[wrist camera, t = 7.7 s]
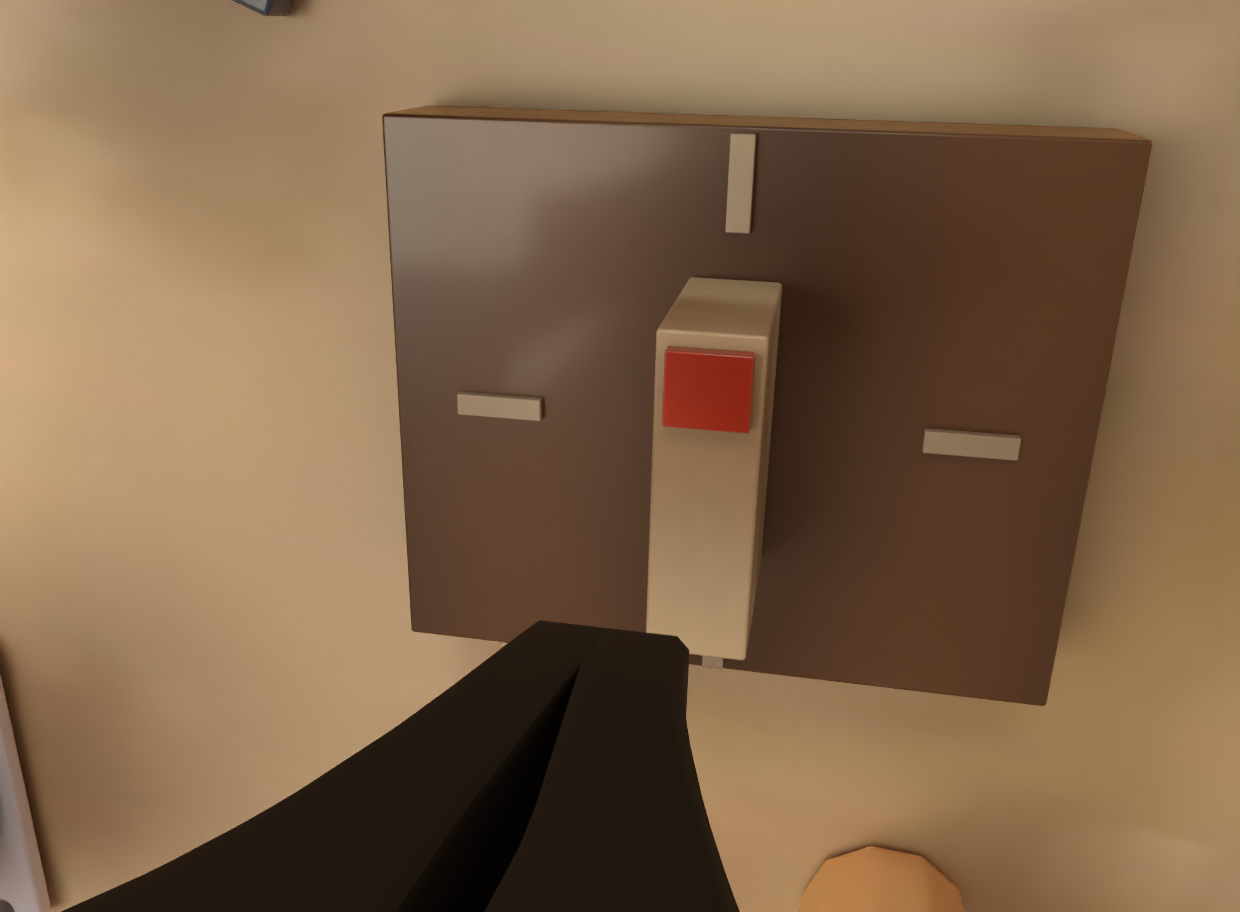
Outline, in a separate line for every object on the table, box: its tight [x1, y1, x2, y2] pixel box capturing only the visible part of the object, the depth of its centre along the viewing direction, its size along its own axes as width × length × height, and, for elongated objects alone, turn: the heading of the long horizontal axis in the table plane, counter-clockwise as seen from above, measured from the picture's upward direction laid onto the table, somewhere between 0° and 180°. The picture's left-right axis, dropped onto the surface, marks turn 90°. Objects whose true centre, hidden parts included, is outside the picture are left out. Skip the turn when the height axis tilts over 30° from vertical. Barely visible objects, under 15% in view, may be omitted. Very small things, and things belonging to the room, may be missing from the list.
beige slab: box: [646, 277, 782, 660], centre depth 16 cm, size 5×1×3 cm, turn 179°
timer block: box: [382, 106, 1152, 706], centre depth 18 cm, size 11×9×2 cm
